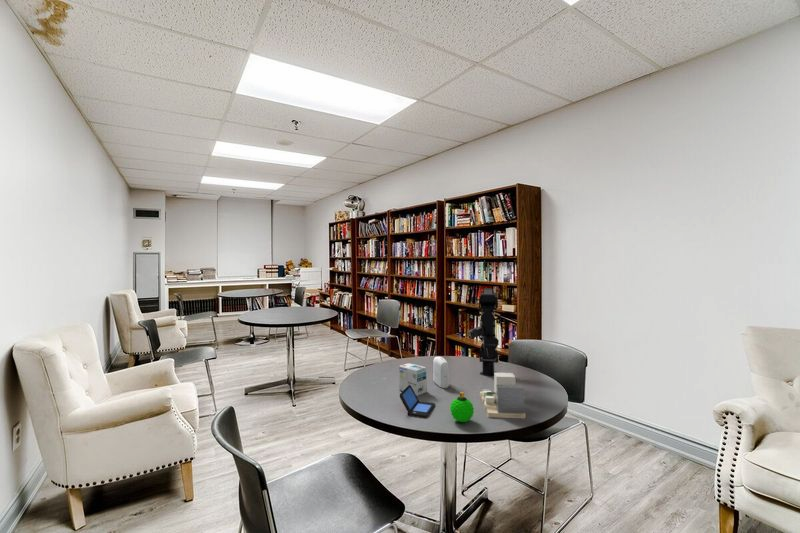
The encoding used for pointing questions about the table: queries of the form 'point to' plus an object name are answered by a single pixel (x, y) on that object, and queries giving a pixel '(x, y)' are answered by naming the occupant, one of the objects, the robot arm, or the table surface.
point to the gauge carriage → (502, 381)
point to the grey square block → (510, 398)
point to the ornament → (462, 408)
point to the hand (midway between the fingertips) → (487, 356)
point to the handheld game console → (415, 404)
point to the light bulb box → (413, 378)
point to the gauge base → (491, 407)
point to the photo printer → (441, 372)
